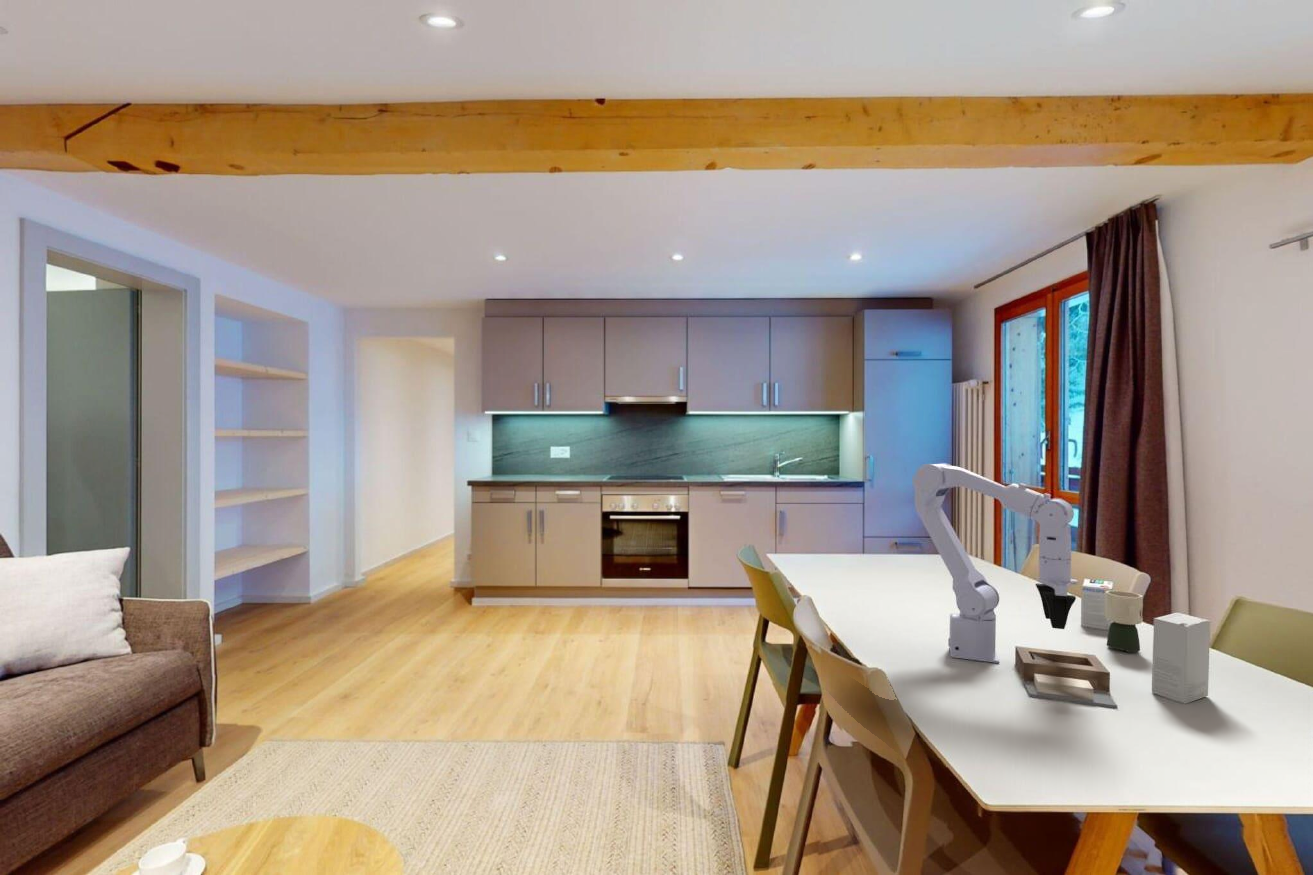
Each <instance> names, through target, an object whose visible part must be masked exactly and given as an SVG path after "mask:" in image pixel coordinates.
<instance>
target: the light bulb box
mask: <svg viewBox="0 0 1313 875" xmlns="http://www.w3.org/2000/svg"><path fill="white" fill-rule="evenodd" d="M1106 591H1114V583H1113V581H1110V580H1108V581H1107V580H1100V579H1099V580H1097V579H1091V578H1090V579H1089V578H1083V583H1082V585H1081V596H1080V597H1081V600H1080V601H1081V604H1080V627H1083V628H1084V627H1086V628H1093V629H1099V630H1104V631H1105V630H1106V631H1109V627H1110V624H1111V623H1112V621H1110V620H1107V619H1106V617H1105V593H1106Z"/></svg>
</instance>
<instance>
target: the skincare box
mask: <svg viewBox="0 0 1313 875" xmlns="http://www.w3.org/2000/svg"><path fill="white" fill-rule="evenodd" d="M1210 635H1211V621H1210V620H1208V619H1204V618H1201V617H1198V616H1197V617H1196V616H1193V615H1189V614H1186V613H1185V614H1184V613H1181V612H1172V613H1170V614H1166V615H1162V616H1158V617H1153V641H1152V668H1151V669H1152V671H1151V674H1152V675H1151V693H1152V694H1155V695H1158V696H1161V697H1163V698H1166V699H1170V700H1173V701H1175V702H1178V703H1181V704H1184V705H1186V704H1189V703H1191V702H1194V701H1197V700H1199V699H1203V698H1205V697H1208V696H1209V678H1210V677H1209V676H1210V675H1209V673H1210V671H1209V669H1210V637H1211V636H1210Z"/></svg>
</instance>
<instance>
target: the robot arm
mask: <svg viewBox="0 0 1313 875" xmlns="http://www.w3.org/2000/svg"><path fill="white" fill-rule="evenodd" d="M911 482H912V485H913V486H914V507H915V511H916V513H917V515H918V516H919V519H920V520H921V522H922V524H923V526H924V528H925V529H926V532H927V533H928V535H929V537H930V539H931V541H932V542H933V544H934V546H935V548H936V550H937V552H938V553H939V556H940V557H941V560H942V561H943V562H944V565H945V566H946V568H947V570H948V572H949V575H950V576H951V577H952V590H953V592H954V594H955V598H956V599H955V601H956V602H955V603H956V606H957V608H958V610H959V613H950V615H949V637H948V640H947V641H948V642H947V644H948V649H949V652H950V658H954V659H955V658H957V659H961V660H962V659H963V660H970V661H971V660H972V661H979V662H989V663H995V664H996V663H1000V659H999V657H998V654H997V651H996V638H997V637H996V628H997V627H996V626H997V624H996V621H997V615H996V613H995V611H994V610H995V609H996V608H997V607H998V605H999V603H1000V595H999V594H1000V593H999V592H998V590H997V589H996V588H995V586H993V585H991V583H989V582H988V580H987V579H986V578H985V576H984V574H982V573H981V572H980V571H978V570H977V569H976V568H975V565H974V564H973V562H972V560H971V559H970V557H969V555H968V553H967V551H966V549H965V547H964V546H963V544H962V542H961V541H960V538H959V536H958V535H957V533H956V531H955V530H954V528H953V526H952V524H951V521H950V520H949V519H948V517H947V514H945V512H944V510H943V508H942V505H943V503H944V500H945V498H946V495H947V494H948V493H949V492H950V490H951V489H952V488H959V487H960V488H961V487H963V488H966V489H969V490H972V491H974V492H977V493H979V494H983V495H985V496H988V497H991V498H994V499H995V500H998V501H999V503H1000V504H1001V506H1002V508H1003V509H1006V510H1007V511H1011V512H1014V513H1015V514H1018V515H1020V516H1023V517H1026V518H1028V519H1031V520H1036V522H1037V523H1038V524H1039V534H1038V577H1037V582H1038V583H1035V587H1036V589H1037V591H1038V594H1039V596H1040V600H1041V604H1042V609H1043V614H1044V617H1045V619H1046V620H1047V619H1049V620H1050V624H1051V627H1052V628H1053V629H1056V630H1057V629H1058V630H1065V628H1066V625H1067V621H1068V617H1069V613H1070V610H1071V608H1072V606H1073V604H1075V601H1076V600H1077V597H1076V596H1075V595H1072V594H1068V588H1069V587H1071V586H1072V585H1079V581H1078V580H1077V579H1074V578H1073V579H1072V535H1071V531H1072V530H1071V524H1070V523H1071V522H1072V521H1073V519H1074V516H1075V510H1074V508H1073V506H1072V505H1071V504H1070V503H1069V502H1067V501H1066V500H1064V499H1063V498H1059V497H1054V498H1051V496H1052V495H1051V494H1049V493H1048V492H1047V493H1046V492H1045V493H1044V494H1043V493H1041V492H1038V491H1035V490H1032V489H1030V488H1027V487H1028V485H1027V484H1025V483H1023V482H1021V483H1018V484H1017V483H1012V484H1009V485H1007V486H1005V485H1004V484H1001V483H999V482H997V481H994V480H993V479H992V480H991V479H990V478H987V477H984V476H982V475H979V474H978V473H975V472H973V471H970V470H968V469H967V468H966V469H965V468H963V467H960V466H955V465H951V464H949V463H945V462H941V463H934V464H932V463H925V464H922V465H921V466H919V467H918V469H917V470H916V471H915V474H914V476H913V478H912V480H911Z"/></svg>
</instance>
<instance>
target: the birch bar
mask: <svg viewBox="0 0 1313 875" xmlns="http://www.w3.org/2000/svg"><path fill="white" fill-rule="evenodd" d="M1034 685H1035V687H1036V689H1037V692H1041V693H1049V694H1056V695H1063V696H1070V697H1077V698H1084V699H1091V700H1093V698H1094V689H1093V687H1092V686H1091V684H1090V683H1089V681H1087V680H1079V679H1072V678H1064V677H1056V676H1049V675H1041V674H1034Z"/></svg>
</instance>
